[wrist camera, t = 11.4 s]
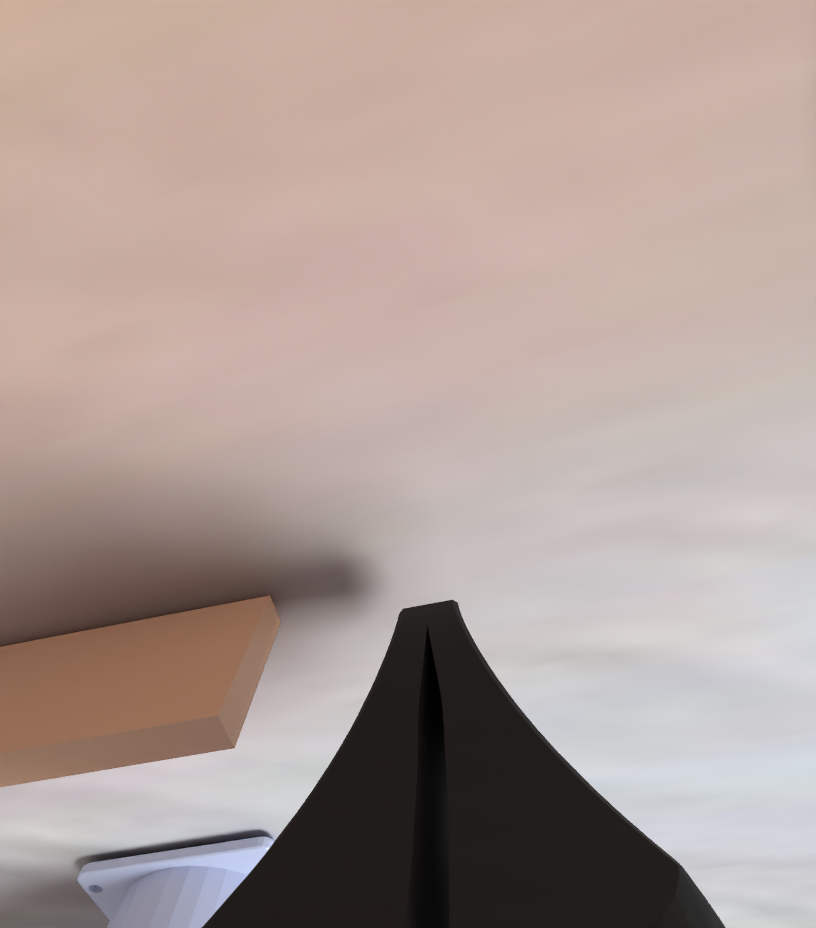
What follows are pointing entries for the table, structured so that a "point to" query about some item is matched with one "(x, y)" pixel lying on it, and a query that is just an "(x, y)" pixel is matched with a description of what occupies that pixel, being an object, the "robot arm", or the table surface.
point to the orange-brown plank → (131, 691)
